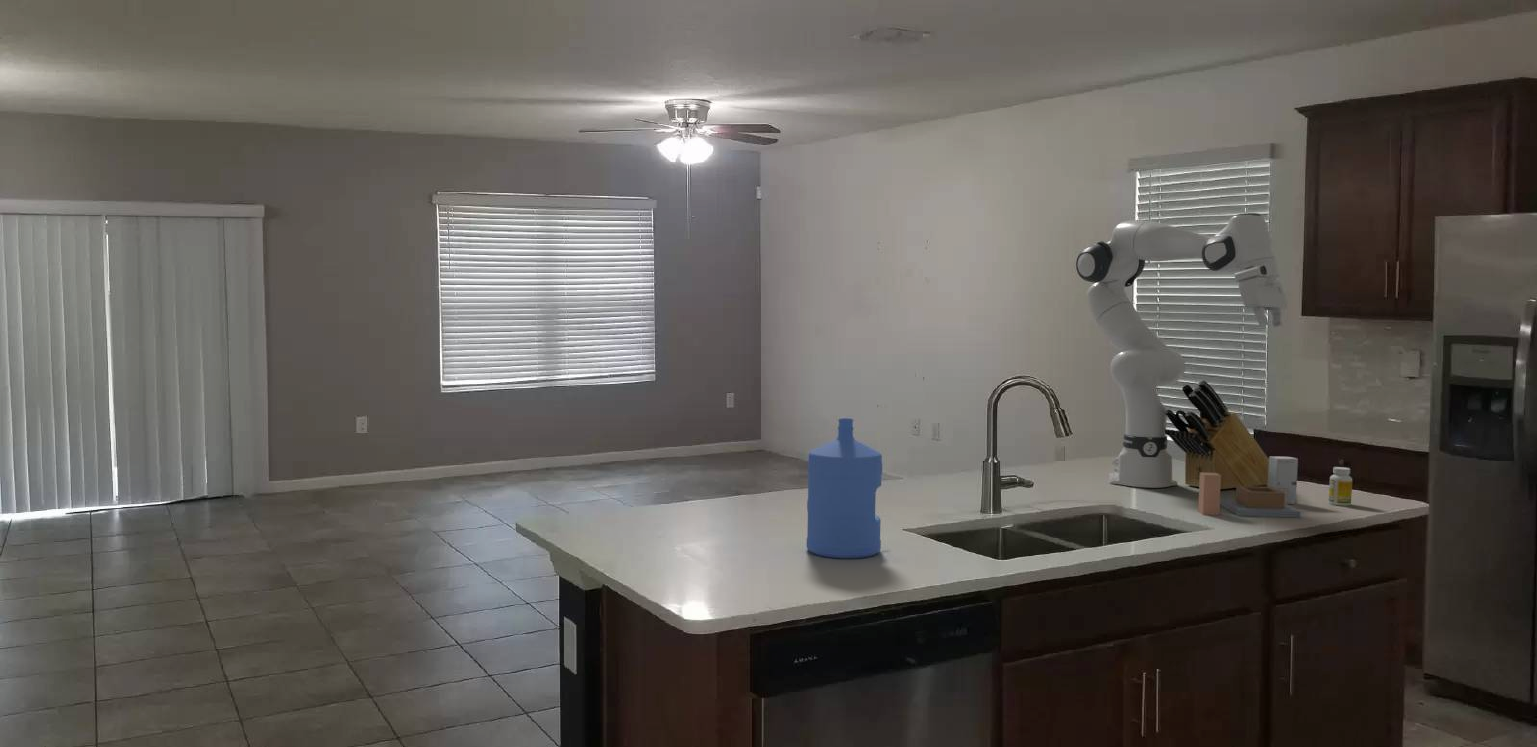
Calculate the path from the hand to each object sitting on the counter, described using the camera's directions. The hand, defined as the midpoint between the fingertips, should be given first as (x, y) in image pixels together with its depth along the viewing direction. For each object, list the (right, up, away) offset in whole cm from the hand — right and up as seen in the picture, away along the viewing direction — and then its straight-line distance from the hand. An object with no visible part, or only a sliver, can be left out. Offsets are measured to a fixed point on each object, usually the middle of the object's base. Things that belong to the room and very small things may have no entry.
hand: (1271, 326), depth 300 cm
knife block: (+1, -45, +36) cm, 57 cm away
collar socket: (-3, -47, 0) cm, 47 cm away
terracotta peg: (-17, -47, -4) cm, 50 cm away
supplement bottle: (+23, -47, +12) cm, 53 cm away
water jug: (-112, -50, -51) cm, 133 cm away
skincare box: (+8, -46, +13) cm, 49 cm away
